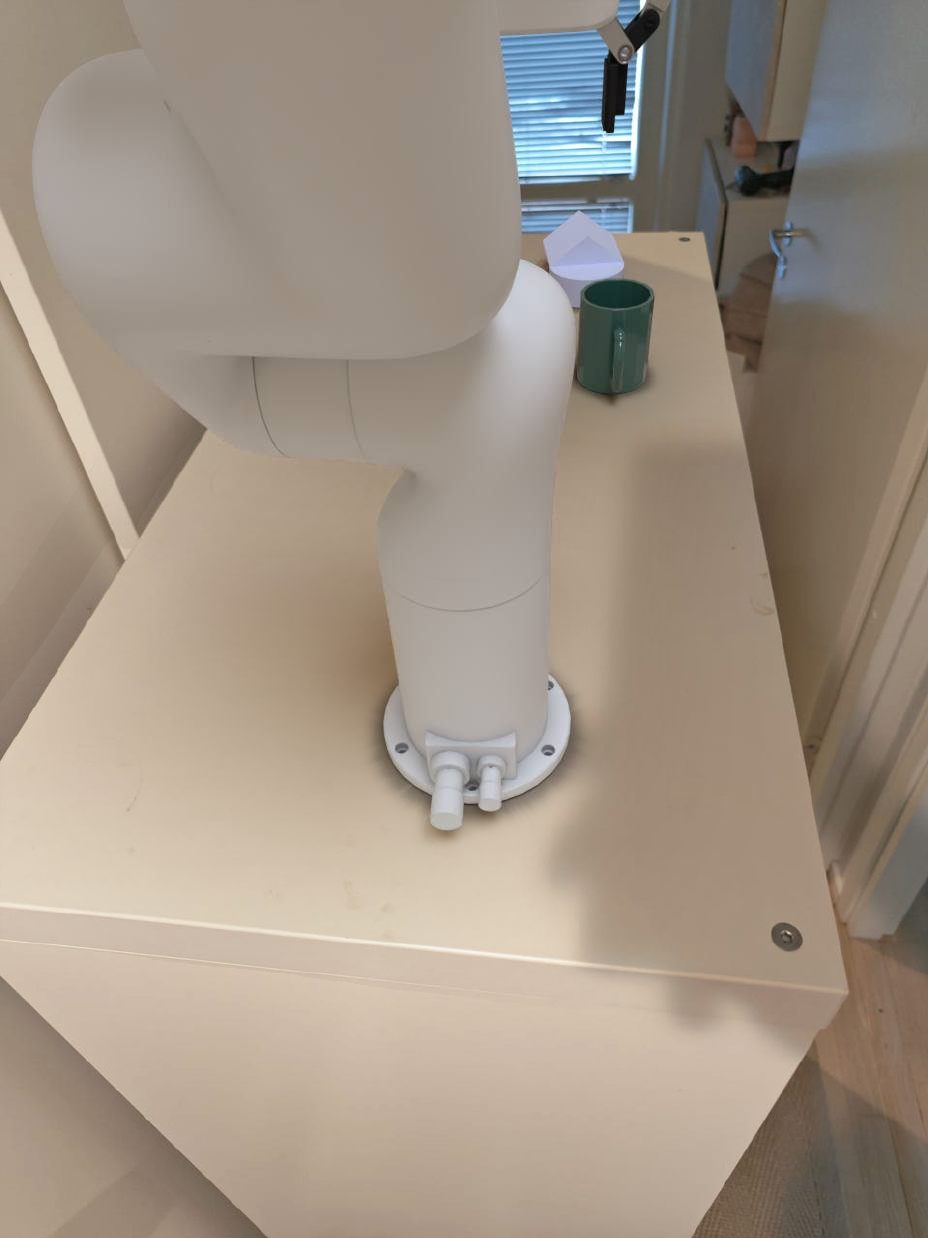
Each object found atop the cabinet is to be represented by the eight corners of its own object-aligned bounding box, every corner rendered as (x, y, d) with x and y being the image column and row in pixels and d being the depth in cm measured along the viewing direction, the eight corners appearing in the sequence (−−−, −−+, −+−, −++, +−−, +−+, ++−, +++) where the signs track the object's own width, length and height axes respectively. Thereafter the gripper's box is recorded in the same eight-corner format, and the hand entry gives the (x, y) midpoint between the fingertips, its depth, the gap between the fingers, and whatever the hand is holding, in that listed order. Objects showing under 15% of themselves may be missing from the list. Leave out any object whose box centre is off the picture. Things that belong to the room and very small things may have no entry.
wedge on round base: (542, 266, 111) (552, 309, 102) (543, 212, 106) (553, 253, 97) (611, 261, 111) (627, 305, 102) (614, 207, 106) (632, 248, 97)
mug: (575, 360, 93) (579, 279, 86) (642, 359, 92) (650, 277, 86) (579, 410, 86) (583, 325, 79) (651, 408, 85) (661, 323, 79)
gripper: (690, -228, 49) (658, 109, 61) (392, -205, 50) (418, 120, 62) (709, -228, 43) (670, 142, 55) (375, -203, 45) (408, 153, 57)
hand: (537, 130), depth 59 cm, fingers open, 9 cm apart
